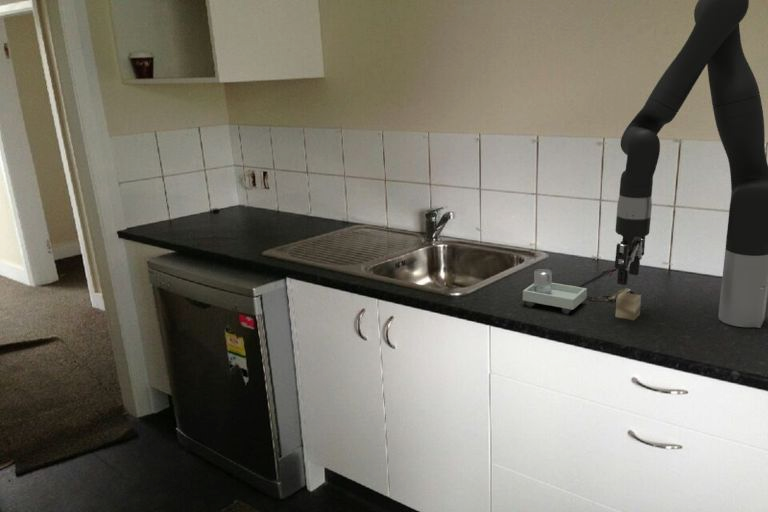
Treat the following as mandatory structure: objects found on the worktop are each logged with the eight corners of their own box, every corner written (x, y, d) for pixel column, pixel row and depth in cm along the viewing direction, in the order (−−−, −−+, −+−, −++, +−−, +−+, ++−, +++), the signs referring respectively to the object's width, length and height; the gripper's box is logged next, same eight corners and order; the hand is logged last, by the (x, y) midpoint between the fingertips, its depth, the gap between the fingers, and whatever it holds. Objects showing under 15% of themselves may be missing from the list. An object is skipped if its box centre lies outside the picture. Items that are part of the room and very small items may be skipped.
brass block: (639, 314, 158) (641, 295, 157) (634, 320, 155) (635, 301, 153) (621, 311, 161) (622, 292, 159) (615, 317, 157) (616, 297, 156)
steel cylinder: (554, 292, 168) (554, 270, 166) (546, 297, 165) (546, 275, 163) (539, 289, 171) (539, 267, 169) (531, 294, 168) (531, 272, 166)
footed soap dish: (586, 303, 166) (587, 288, 165) (572, 315, 159) (573, 299, 158) (537, 294, 174) (538, 280, 173) (522, 306, 167) (522, 290, 166)
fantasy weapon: (560, 297, 175) (612, 307, 164) (560, 290, 174) (612, 301, 164) (613, 269, 193) (662, 278, 183) (613, 264, 193) (662, 272, 182)
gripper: (640, 222, 143) (634, 291, 148) (659, 209, 154) (653, 273, 159) (607, 218, 148) (602, 285, 152) (627, 206, 158) (622, 268, 163)
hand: (628, 279), depth 156 cm, fingers open, 8 cm apart
